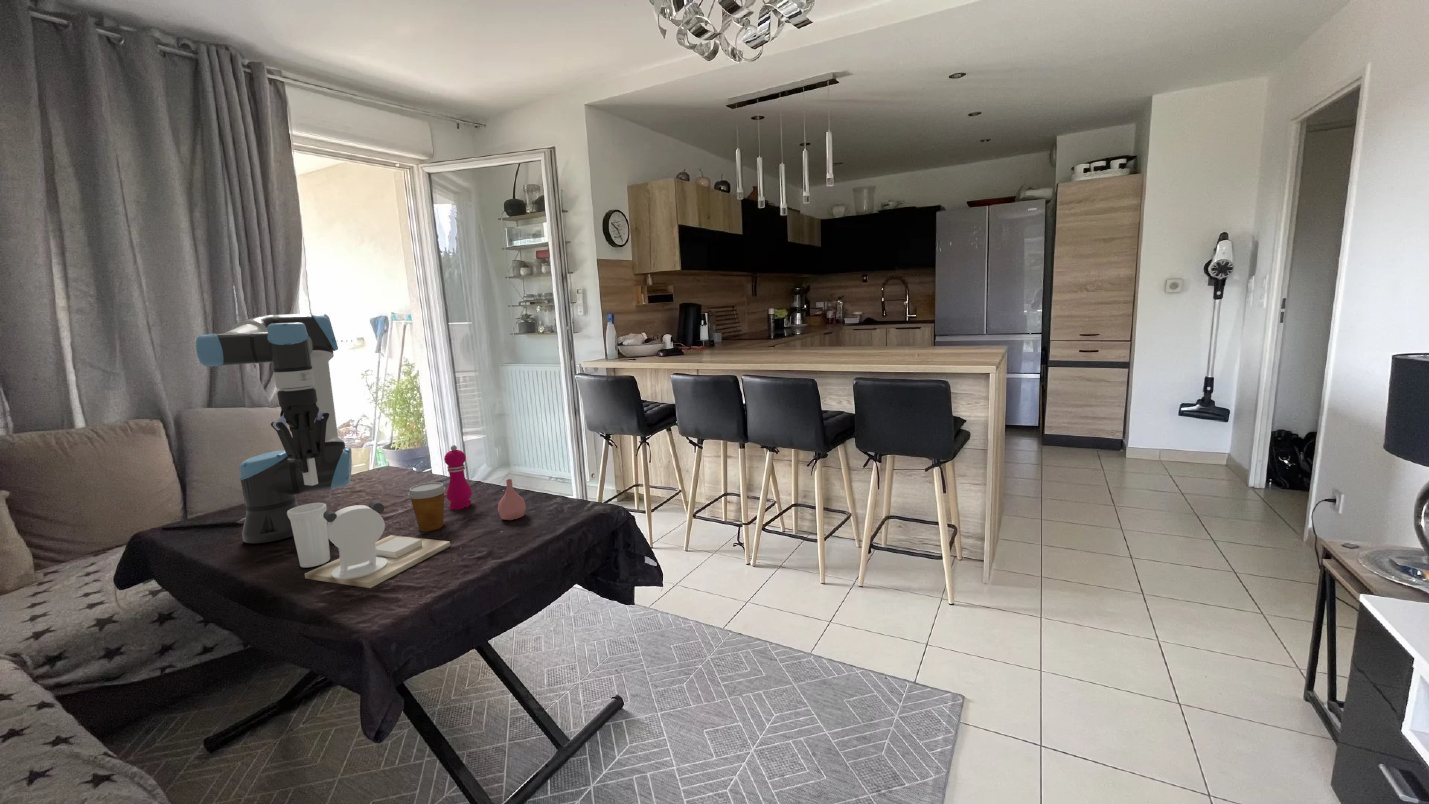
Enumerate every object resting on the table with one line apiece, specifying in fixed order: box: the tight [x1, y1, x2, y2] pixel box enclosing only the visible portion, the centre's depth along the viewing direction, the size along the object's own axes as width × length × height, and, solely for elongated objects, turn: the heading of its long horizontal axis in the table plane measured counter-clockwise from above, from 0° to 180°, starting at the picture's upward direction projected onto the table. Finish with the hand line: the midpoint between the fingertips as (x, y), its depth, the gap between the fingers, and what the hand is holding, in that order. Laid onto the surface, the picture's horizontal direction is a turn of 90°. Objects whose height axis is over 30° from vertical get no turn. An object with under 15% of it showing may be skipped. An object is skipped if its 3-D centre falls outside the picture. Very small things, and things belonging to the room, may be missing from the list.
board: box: [304, 534, 451, 589], centre depth 145 cm, size 20×24×1 cm
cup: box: [287, 502, 331, 568], centre depth 145 cm, size 8×8×14 cm
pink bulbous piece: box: [497, 478, 527, 521], centre depth 170 cm, size 8×8×12 cm
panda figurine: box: [323, 499, 388, 579], centre depth 138 cm, size 12×11×15 cm
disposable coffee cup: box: [407, 481, 446, 532], centre depth 167 cm, size 10×10×12 cm
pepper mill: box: [444, 444, 473, 510], centre depth 182 cm, size 7×7×20 cm
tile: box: [376, 536, 423, 558], centre depth 148 cm, size 2×8×8 cm
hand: (311, 484), depth 144 cm, fingers closed
